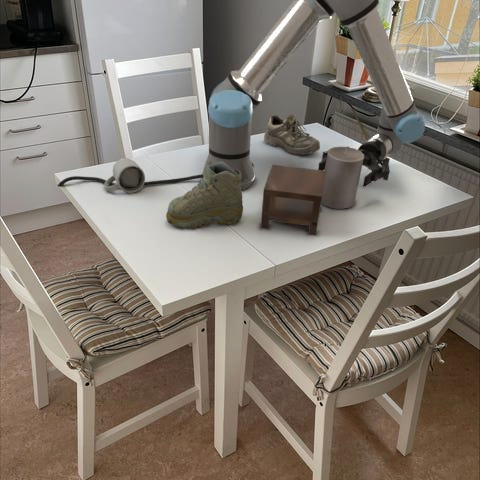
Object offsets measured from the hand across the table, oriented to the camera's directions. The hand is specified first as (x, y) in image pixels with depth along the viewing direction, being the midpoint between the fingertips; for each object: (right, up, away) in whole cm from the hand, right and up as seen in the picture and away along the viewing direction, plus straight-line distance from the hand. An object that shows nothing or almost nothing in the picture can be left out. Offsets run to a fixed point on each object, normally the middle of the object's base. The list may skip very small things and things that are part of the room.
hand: (341, 174), depth 136 cm
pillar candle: (0, -6, +5) cm, 8 cm away
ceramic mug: (-60, -2, +6) cm, 60 cm away
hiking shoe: (-10, +18, +34) cm, 40 cm away
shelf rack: (-14, -12, -3) cm, 19 cm away
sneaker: (-36, -14, -6) cm, 39 cm away
